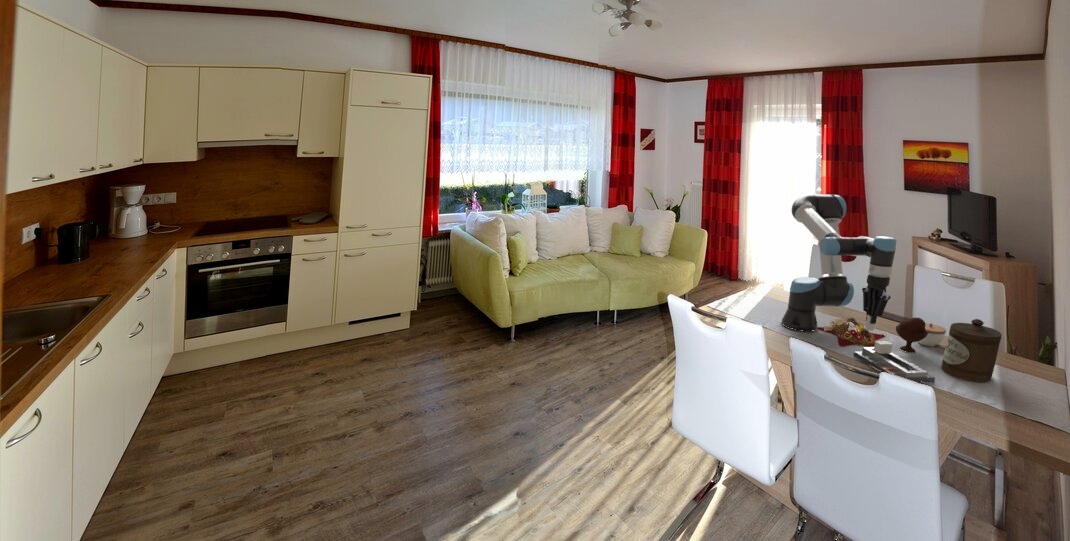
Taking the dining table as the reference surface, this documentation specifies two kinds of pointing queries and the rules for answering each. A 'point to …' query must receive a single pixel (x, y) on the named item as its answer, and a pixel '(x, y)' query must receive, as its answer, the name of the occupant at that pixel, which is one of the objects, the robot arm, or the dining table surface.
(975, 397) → the dining table surface
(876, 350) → the fader knob
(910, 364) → the fader console
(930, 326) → the lidded jar
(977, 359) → the wooden container
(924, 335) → the ice cream bowl
